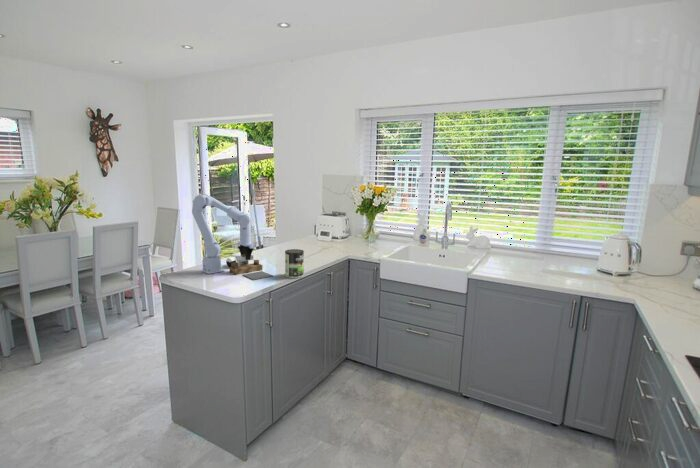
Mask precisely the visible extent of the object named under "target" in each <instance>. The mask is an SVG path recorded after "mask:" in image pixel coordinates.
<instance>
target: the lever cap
mask: <svg viewBox="0 0 700 468" xmlns="http://www.w3.org/2000/svg"><path fill="white" fill-rule="evenodd" d="M238 260H240V261H254V260H255V259H254V255H252V254H251V257H250V260H246V256H245V254H244V255H240V256H238Z"/></svg>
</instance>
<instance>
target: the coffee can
mask: <svg viewBox="0 0 700 468" xmlns="http://www.w3.org/2000/svg"><path fill="white" fill-rule="evenodd" d="M304 253H305V250H303V249H297V248H296V249H295V248H294V249H286V250H285V251H284V256H285V257H284V259H285V260H284V261H285V262H284V263H285V267H284V268H285V269H284V270H285V273H284V275H285V276H284V277H286V278H289V279H300V278H303V277H304V267H305V266H304V263H305V262H304V256H305V255H304Z"/></svg>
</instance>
